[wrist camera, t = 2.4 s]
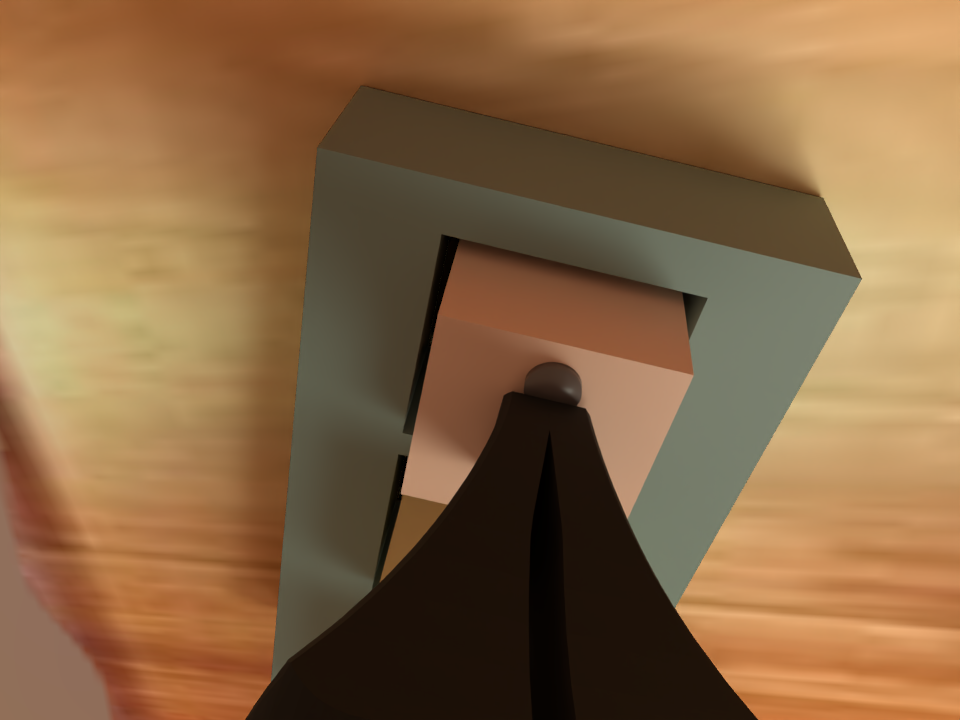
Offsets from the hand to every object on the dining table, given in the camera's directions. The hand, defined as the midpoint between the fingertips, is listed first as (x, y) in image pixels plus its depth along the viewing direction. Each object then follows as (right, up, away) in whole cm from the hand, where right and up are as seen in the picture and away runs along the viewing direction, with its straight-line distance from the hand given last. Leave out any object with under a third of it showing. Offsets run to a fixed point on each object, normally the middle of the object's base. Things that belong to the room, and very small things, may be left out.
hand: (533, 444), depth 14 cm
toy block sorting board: (0, -1, +7) cm, 7 cm away
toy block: (+1, +3, +4) cm, 5 cm away
